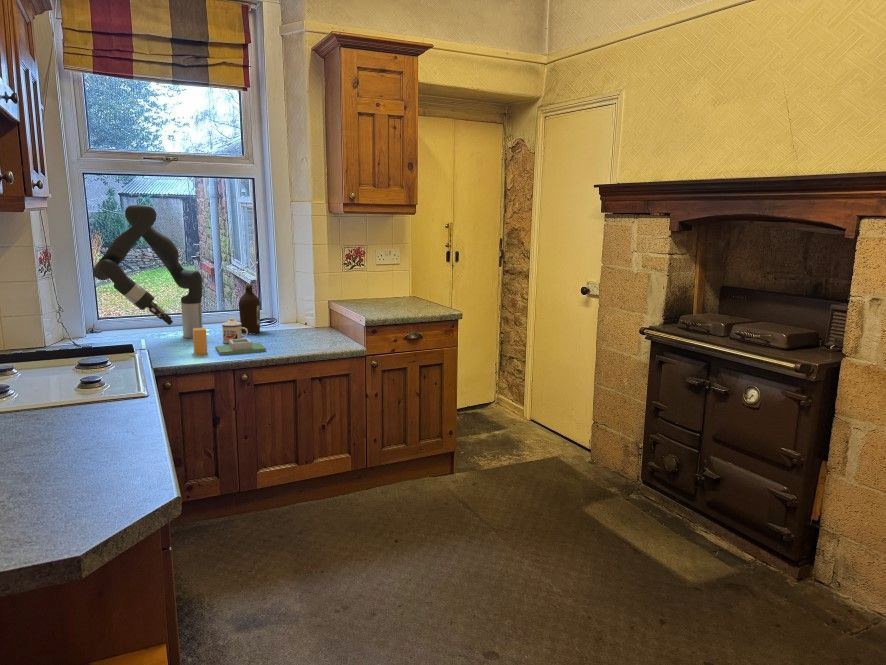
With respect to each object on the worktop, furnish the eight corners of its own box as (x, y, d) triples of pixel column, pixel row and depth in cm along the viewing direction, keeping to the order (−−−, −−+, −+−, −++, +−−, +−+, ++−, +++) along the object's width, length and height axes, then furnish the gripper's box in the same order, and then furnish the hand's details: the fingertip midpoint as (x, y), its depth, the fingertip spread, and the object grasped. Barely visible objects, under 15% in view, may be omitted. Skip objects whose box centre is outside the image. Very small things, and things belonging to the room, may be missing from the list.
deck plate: (215, 349, 279) (215, 339, 278) (259, 345, 288) (259, 336, 287) (219, 355, 268) (219, 345, 267) (265, 351, 277) (265, 341, 276)
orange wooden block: (194, 352, 272) (192, 328, 270) (205, 351, 275) (204, 327, 272) (195, 354, 268) (193, 330, 266) (207, 353, 270) (206, 329, 268)
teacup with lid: (220, 343, 290) (218, 319, 287) (226, 339, 299) (225, 316, 296) (245, 344, 290) (244, 320, 288) (250, 340, 299) (249, 317, 297)
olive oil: (238, 334, 311) (236, 286, 305) (241, 330, 321) (239, 283, 316) (260, 334, 313) (258, 286, 308) (261, 330, 323) (260, 283, 318)
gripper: (146, 292, 250) (178, 318, 258) (144, 288, 262) (175, 312, 270) (133, 305, 248) (165, 331, 256) (132, 300, 261) (163, 325, 268)
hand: (170, 321), depth 263 cm, fingers open, 8 cm apart
